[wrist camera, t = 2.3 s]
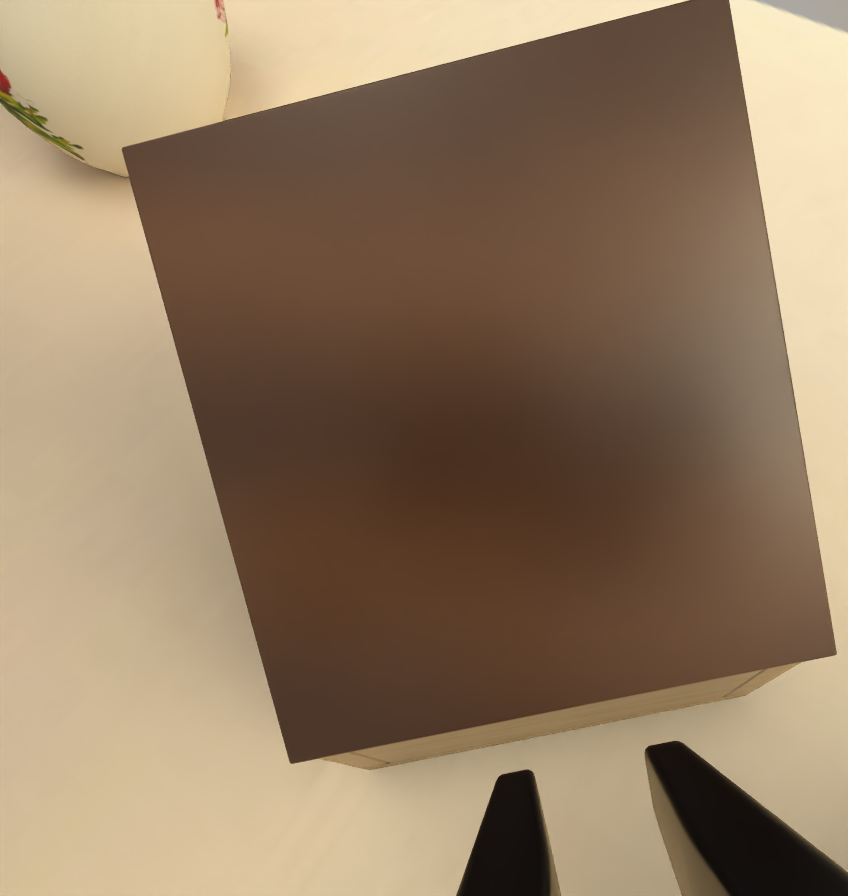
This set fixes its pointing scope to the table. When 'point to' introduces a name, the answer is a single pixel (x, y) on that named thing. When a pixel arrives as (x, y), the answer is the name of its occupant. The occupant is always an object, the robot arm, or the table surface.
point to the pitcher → (113, 71)
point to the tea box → (560, 720)
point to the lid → (494, 382)
